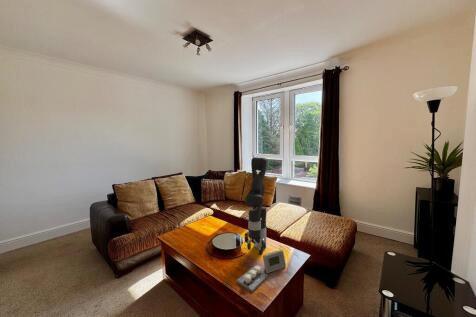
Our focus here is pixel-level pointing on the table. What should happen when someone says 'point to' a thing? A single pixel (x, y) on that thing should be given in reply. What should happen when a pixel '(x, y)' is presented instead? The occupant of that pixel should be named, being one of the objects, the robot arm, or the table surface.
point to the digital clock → (274, 261)
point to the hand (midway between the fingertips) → (254, 252)
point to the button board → (253, 284)
